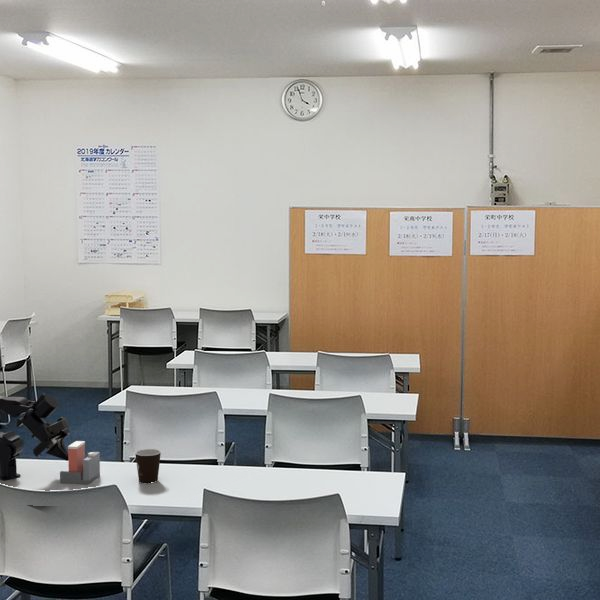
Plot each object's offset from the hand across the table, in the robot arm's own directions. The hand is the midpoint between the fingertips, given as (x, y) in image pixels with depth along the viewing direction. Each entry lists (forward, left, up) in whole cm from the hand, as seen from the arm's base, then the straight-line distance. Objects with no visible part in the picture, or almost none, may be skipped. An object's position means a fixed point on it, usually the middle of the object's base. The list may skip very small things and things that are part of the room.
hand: (68, 459), depth 265 cm
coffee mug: (+21, +18, -7) cm, 29 cm away
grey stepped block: (+3, +2, -7) cm, 8 cm away
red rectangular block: (+2, +2, -5) cm, 6 cm away
